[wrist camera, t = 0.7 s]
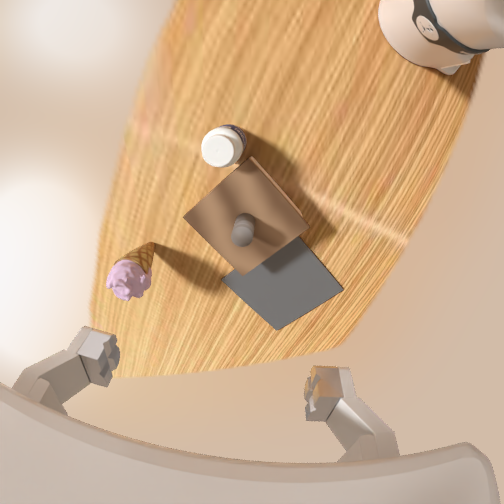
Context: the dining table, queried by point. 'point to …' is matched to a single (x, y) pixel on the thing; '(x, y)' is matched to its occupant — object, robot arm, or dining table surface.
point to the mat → (285, 284)
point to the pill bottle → (223, 145)
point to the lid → (246, 218)
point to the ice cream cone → (132, 273)
